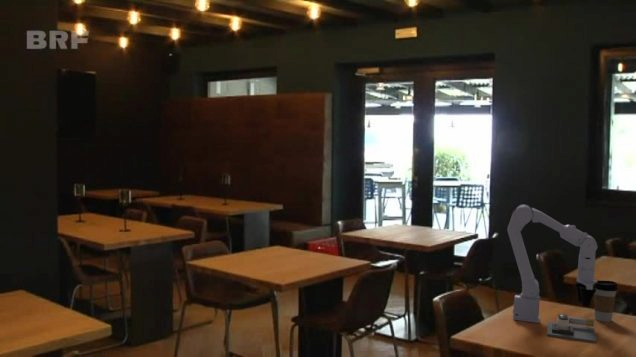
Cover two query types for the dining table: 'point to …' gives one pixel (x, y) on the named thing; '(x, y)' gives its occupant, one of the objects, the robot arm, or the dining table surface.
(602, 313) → the coffee cup
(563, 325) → the plug
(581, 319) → the clip
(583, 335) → the panel
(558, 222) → the robot arm
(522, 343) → the dining table surface
